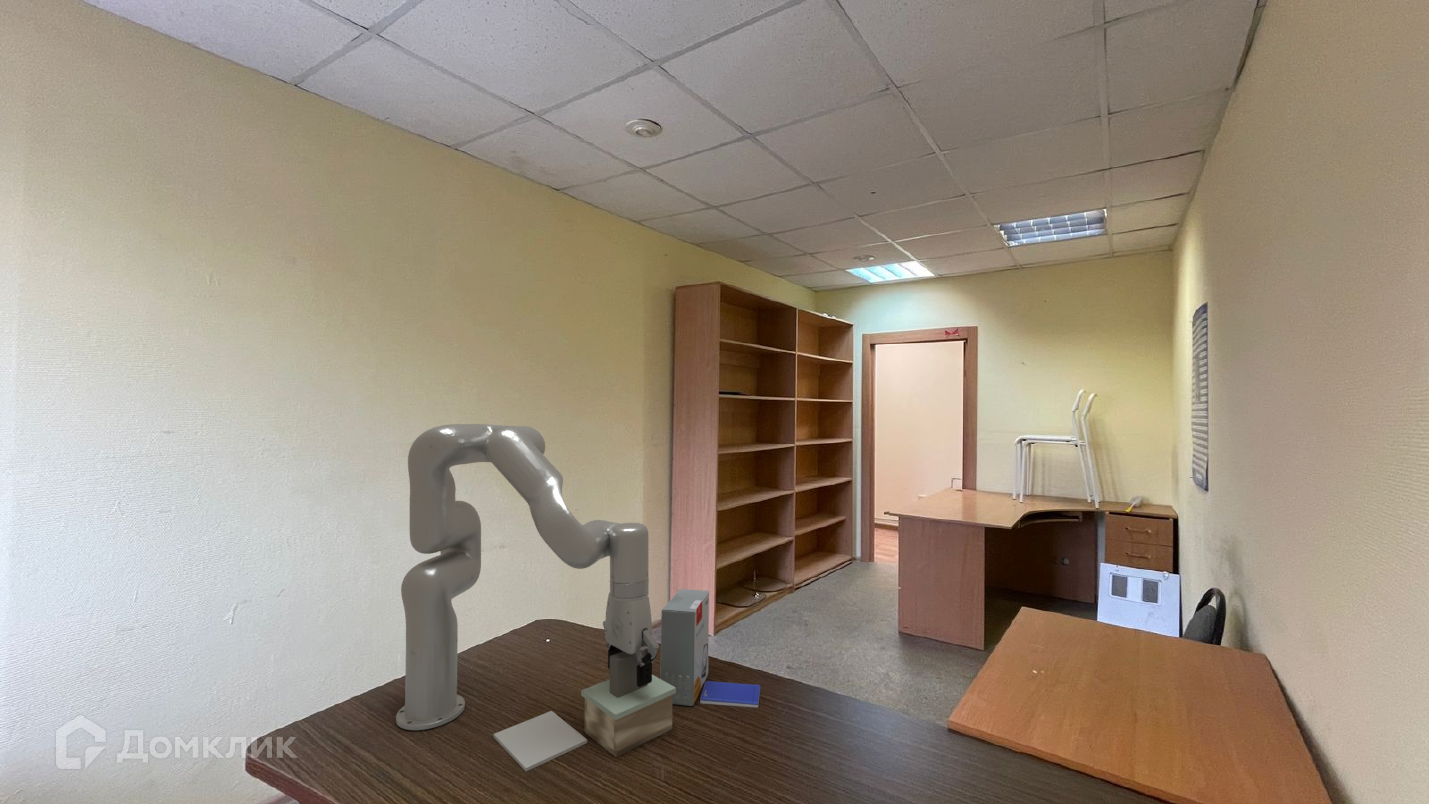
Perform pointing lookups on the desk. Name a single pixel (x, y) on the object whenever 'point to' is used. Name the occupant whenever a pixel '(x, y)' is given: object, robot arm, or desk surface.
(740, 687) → the hard drive
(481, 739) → the desk surface
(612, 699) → the lid
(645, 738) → the crate
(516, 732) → the mat
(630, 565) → the robot arm
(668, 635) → the hard drive box
